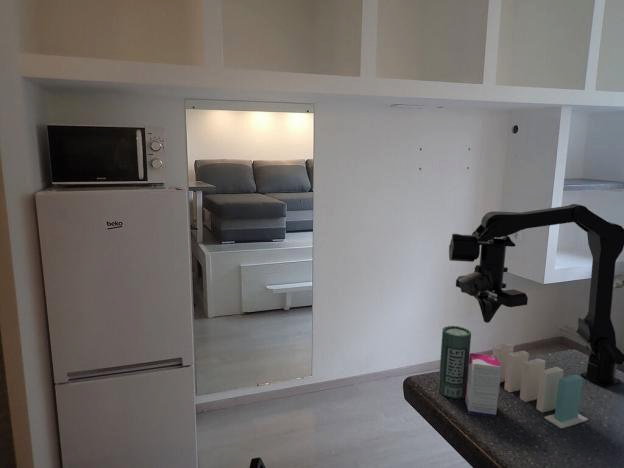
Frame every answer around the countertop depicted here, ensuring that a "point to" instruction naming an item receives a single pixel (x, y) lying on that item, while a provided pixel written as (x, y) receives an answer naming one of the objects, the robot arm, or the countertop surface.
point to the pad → (565, 423)
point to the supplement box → (483, 384)
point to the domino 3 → (531, 379)
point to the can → (454, 361)
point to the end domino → (568, 398)
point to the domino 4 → (548, 389)
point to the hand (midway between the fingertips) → (486, 322)
